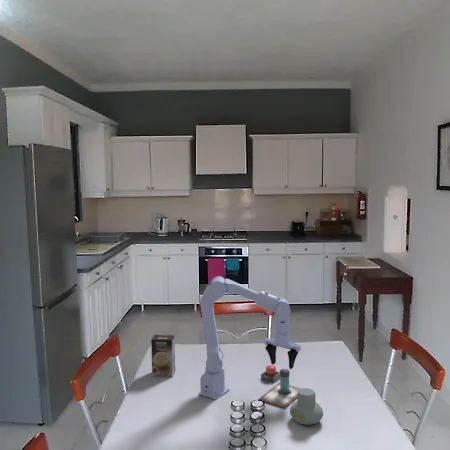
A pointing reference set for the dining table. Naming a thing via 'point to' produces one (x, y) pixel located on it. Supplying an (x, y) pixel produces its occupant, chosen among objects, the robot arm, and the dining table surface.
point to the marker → (284, 381)
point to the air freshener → (306, 408)
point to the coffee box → (163, 355)
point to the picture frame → (280, 396)
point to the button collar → (270, 377)
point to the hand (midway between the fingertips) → (282, 365)
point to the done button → (271, 370)
